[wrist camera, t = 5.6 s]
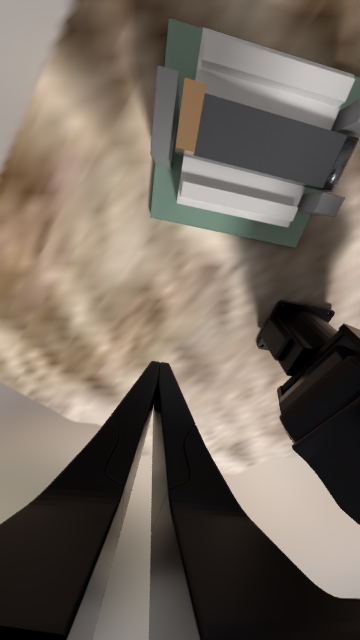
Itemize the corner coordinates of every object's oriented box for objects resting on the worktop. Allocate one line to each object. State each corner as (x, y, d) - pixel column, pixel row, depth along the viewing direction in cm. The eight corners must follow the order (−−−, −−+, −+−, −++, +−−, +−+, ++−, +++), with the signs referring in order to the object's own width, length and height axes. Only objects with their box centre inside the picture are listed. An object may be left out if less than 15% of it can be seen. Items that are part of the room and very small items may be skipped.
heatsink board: (364, 89, 13) (470, 22, 8) (290, 246, 18) (330, 261, 13) (169, 29, 11) (162, -91, 7) (151, 216, 16) (140, 222, 12)
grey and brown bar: (348, 144, 11) (374, 135, 10) (325, 192, 12) (345, 191, 11) (182, 95, 10) (184, 77, 9) (175, 154, 11) (175, 147, 10)
